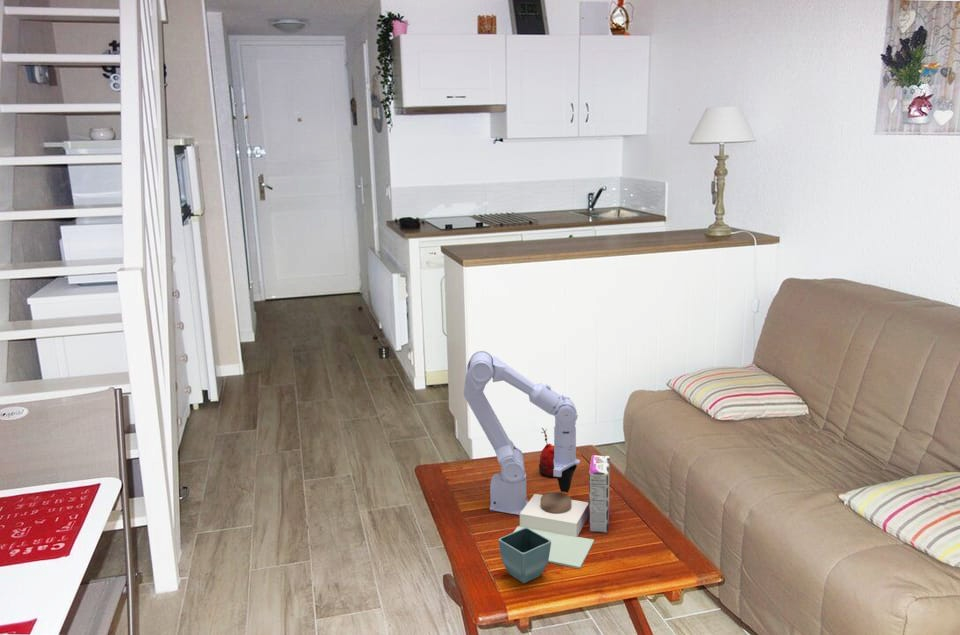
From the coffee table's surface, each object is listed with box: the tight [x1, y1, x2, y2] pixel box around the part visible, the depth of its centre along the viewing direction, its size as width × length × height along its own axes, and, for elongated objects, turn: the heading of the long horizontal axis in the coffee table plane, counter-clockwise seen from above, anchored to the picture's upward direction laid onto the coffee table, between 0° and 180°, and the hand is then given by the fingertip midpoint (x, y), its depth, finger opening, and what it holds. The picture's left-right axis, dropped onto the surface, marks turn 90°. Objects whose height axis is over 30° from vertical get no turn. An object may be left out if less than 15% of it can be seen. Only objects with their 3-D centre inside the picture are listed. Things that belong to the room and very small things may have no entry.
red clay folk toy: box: [538, 427, 555, 478], centre depth 221 cm, size 8×7×15 cm
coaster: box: [541, 491, 572, 514], centre depth 193 cm, size 8×8×2 cm
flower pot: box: [498, 527, 551, 584], centre depth 169 cm, size 9×9×9 cm
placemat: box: [513, 525, 595, 570], centre depth 181 cm, size 20×13×1 cm, turn 67°
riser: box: [519, 493, 589, 537], centre depth 193 cm, size 15×12×4 cm
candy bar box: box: [588, 454, 610, 534], centre depth 191 cm, size 11×5×16 cm, turn 168°
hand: (564, 490), depth 201 cm, fingers closed
